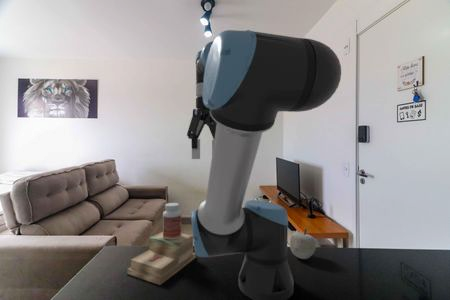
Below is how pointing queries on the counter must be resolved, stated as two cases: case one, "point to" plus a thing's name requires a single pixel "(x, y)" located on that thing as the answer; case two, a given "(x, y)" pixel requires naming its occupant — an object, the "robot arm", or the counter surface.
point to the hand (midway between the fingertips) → (206, 158)
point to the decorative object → (302, 244)
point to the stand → (162, 258)
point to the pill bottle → (171, 221)
